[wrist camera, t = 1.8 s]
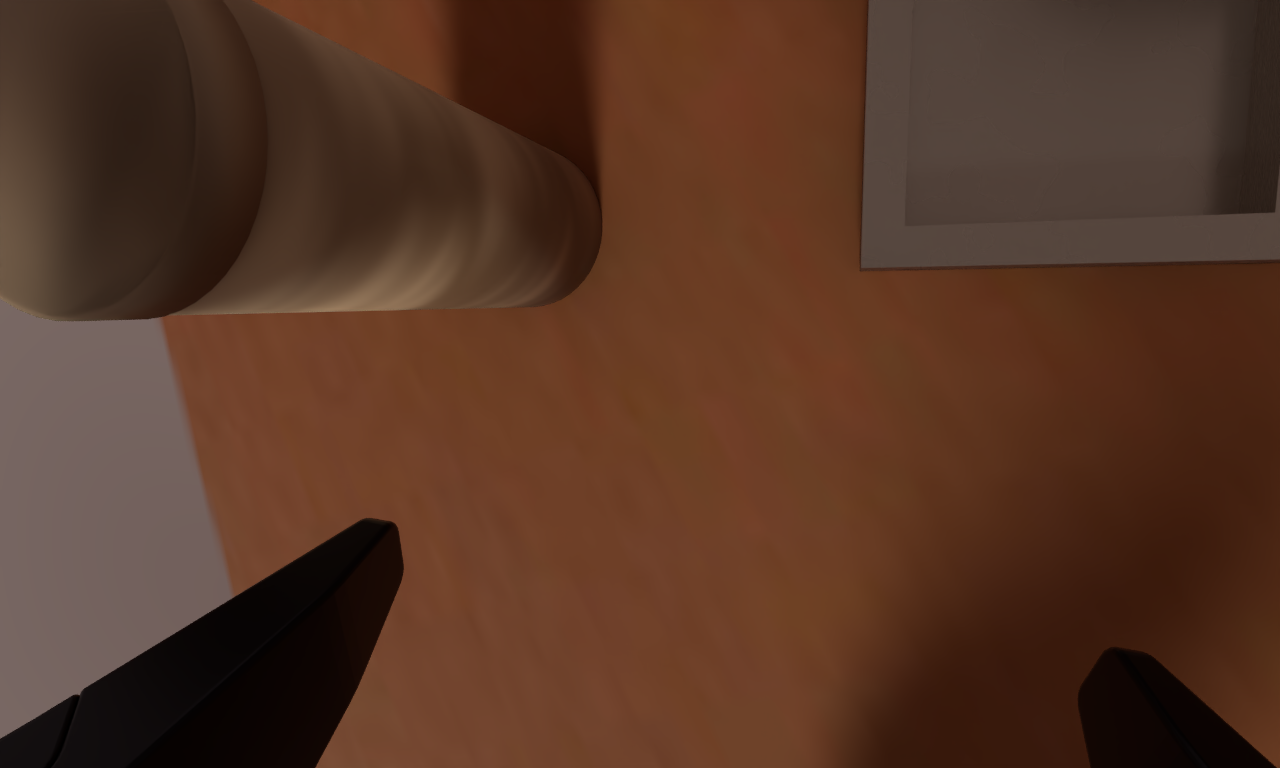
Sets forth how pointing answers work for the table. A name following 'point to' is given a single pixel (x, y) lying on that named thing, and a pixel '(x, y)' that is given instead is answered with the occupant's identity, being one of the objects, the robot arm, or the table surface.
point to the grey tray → (1070, 133)
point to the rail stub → (259, 174)
